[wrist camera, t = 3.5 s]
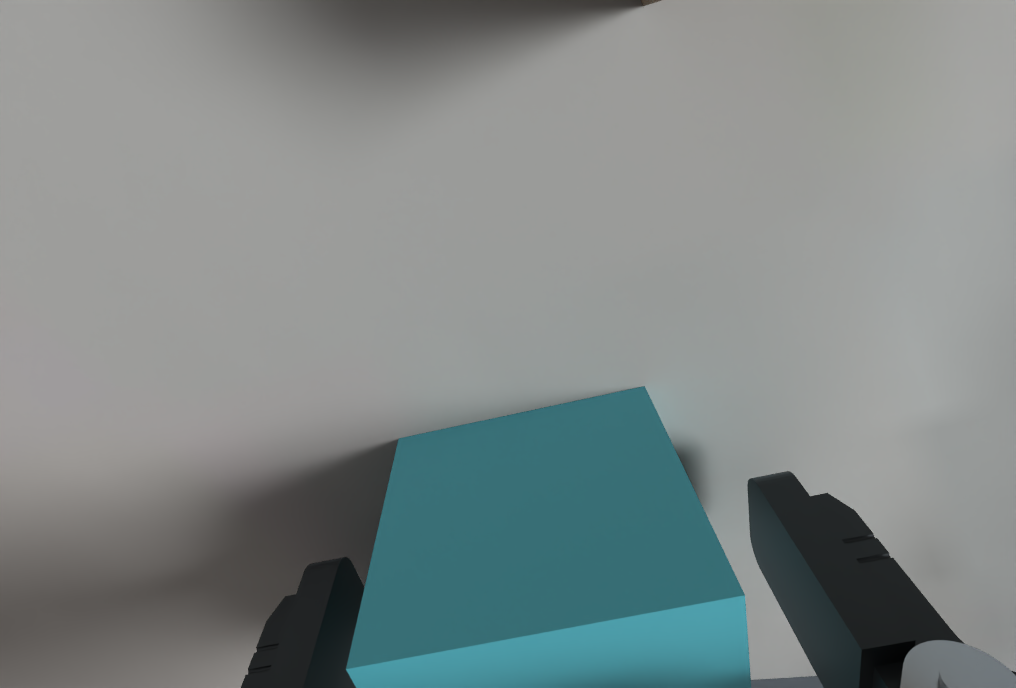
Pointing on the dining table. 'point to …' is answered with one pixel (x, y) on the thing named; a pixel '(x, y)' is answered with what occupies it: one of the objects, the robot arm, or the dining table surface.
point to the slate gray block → (788, 683)
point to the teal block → (548, 560)
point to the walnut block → (648, 2)
